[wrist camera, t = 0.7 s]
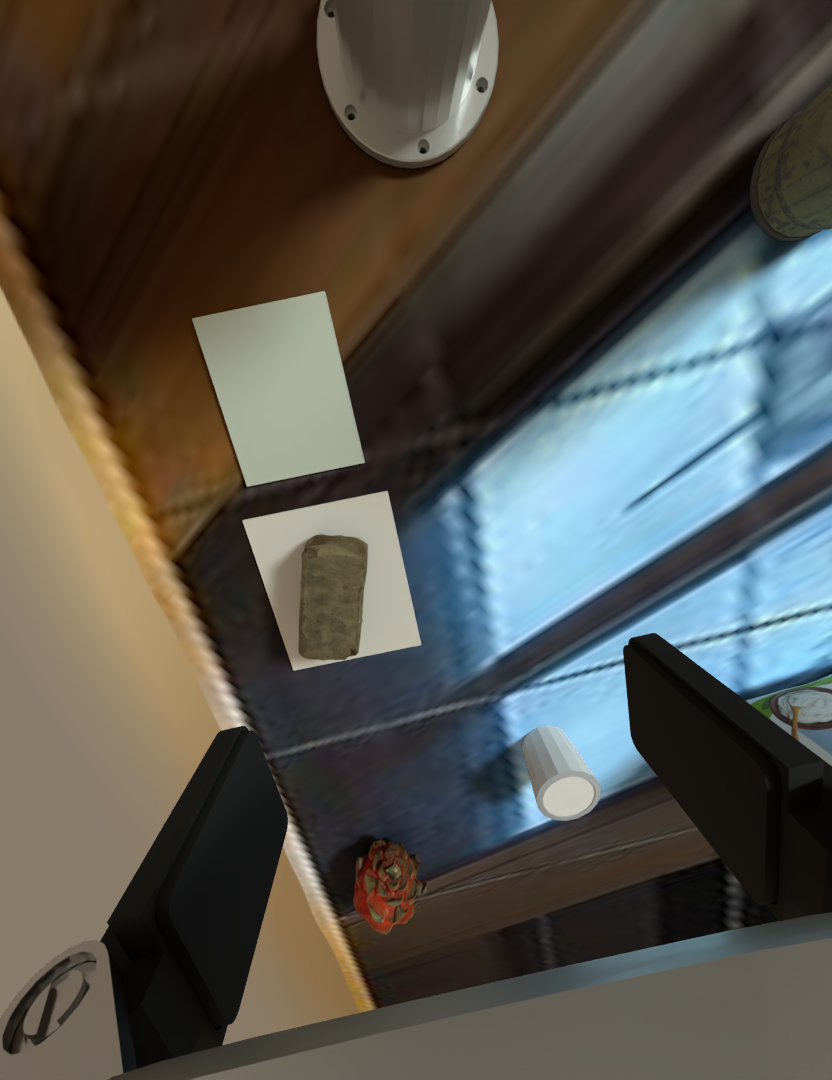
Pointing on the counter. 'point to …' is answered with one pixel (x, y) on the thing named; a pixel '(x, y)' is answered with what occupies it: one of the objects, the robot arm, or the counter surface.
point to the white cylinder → (559, 775)
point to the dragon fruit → (387, 885)
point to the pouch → (803, 714)
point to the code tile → (386, 580)
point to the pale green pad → (281, 388)
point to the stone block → (332, 597)
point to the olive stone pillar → (796, 174)
